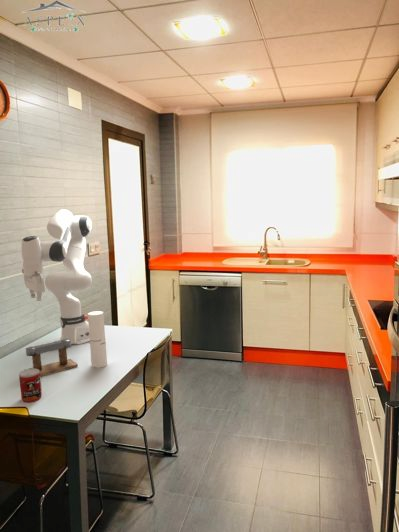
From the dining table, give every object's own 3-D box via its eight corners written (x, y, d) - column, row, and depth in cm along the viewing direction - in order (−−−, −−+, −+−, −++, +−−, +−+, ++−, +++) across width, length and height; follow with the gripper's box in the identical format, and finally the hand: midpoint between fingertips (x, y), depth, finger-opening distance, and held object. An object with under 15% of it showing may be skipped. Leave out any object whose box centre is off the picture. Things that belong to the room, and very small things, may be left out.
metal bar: (69, 344, 216) (68, 338, 216) (72, 346, 213) (71, 340, 212) (25, 354, 204) (24, 347, 204) (27, 356, 201) (27, 350, 200)
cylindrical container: (90, 363, 216) (86, 312, 212) (105, 360, 219) (101, 310, 215) (93, 368, 209) (89, 315, 206) (108, 365, 212) (104, 313, 208)
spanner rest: (70, 360, 220) (68, 342, 219) (77, 366, 212) (76, 347, 211) (23, 372, 208) (21, 353, 206) (29, 378, 200) (27, 359, 198)
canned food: (21, 404, 175) (19, 377, 173) (21, 396, 182) (18, 370, 180) (42, 400, 178) (40, 373, 176) (41, 392, 185) (38, 366, 183)
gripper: (46, 272, 208) (49, 301, 210) (34, 267, 224) (36, 295, 226) (32, 274, 204) (35, 303, 206) (20, 269, 221) (23, 297, 223)
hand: (36, 299), depth 216 cm, fingers open, 8 cm apart
